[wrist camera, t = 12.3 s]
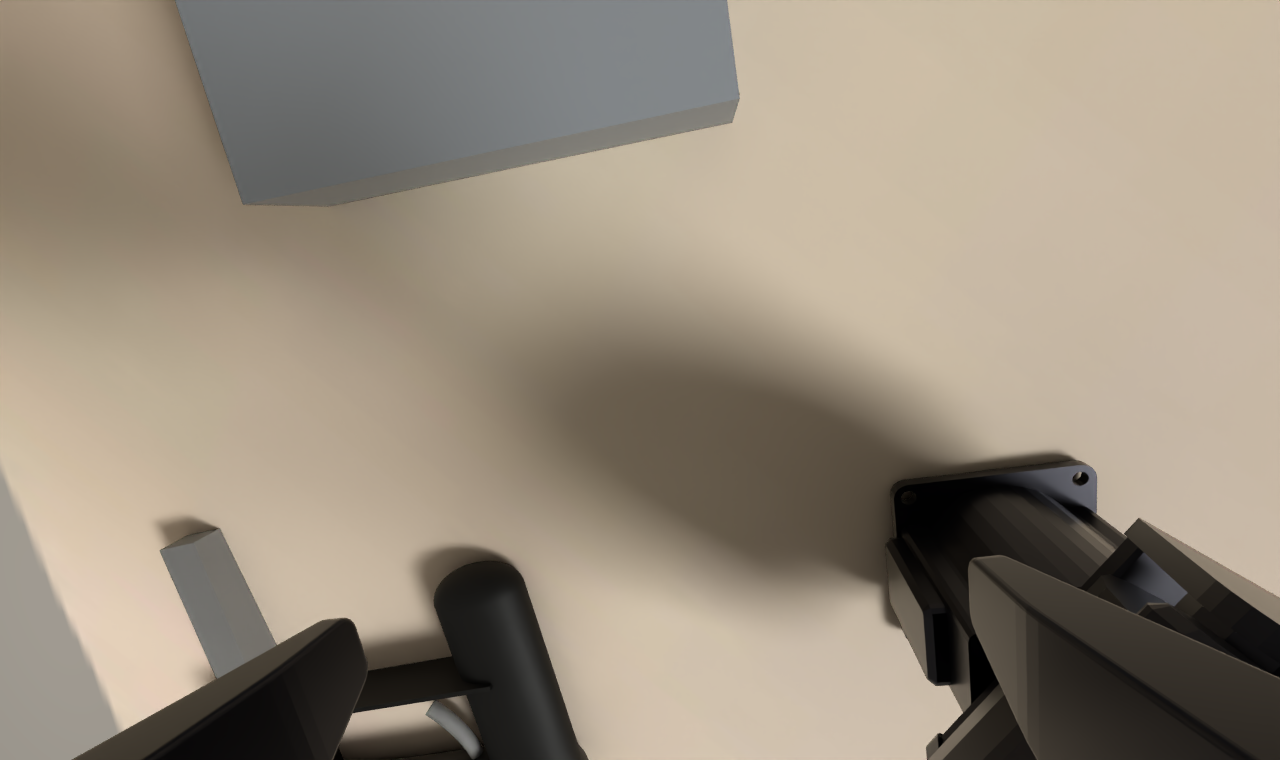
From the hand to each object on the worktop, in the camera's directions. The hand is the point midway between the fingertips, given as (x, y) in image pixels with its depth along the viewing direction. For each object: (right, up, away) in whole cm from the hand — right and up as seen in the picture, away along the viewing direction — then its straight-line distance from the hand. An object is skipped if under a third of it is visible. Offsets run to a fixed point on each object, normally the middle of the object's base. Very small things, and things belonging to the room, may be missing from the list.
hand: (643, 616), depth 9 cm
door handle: (-13, -10, +18) cm, 24 cm away
